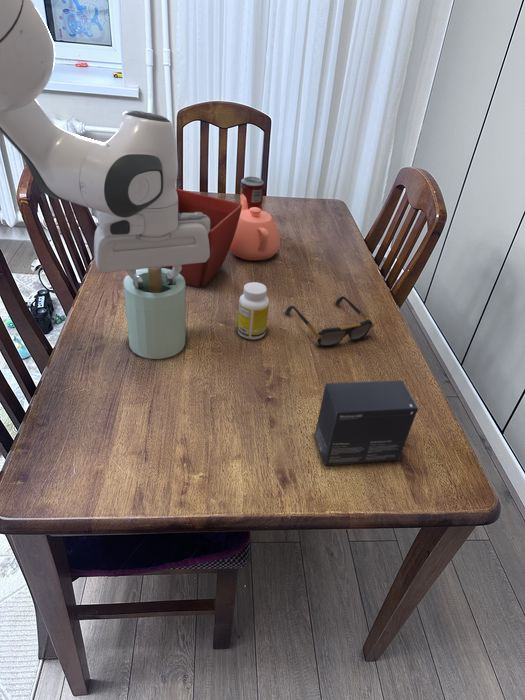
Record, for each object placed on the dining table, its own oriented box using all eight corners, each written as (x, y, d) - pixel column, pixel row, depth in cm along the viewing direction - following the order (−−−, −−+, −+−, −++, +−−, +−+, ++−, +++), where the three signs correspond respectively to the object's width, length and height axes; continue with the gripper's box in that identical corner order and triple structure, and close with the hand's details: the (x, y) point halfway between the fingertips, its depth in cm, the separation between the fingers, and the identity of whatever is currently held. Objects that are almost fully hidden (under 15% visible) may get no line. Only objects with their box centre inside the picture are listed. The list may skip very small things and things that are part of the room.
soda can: (265, 219, 154) (269, 180, 147) (248, 224, 150) (251, 184, 143) (250, 212, 158) (253, 173, 151) (234, 216, 154) (236, 177, 147)
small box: (385, 430, 85) (403, 379, 78) (400, 461, 80) (421, 409, 72) (312, 434, 83) (325, 381, 75) (323, 466, 77) (337, 413, 70)
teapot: (215, 234, 142) (216, 193, 134) (263, 232, 146) (267, 192, 139) (236, 270, 126) (239, 226, 118) (289, 266, 130) (296, 223, 123)
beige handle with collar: (149, 345, 96) (145, 274, 86) (144, 333, 99) (139, 262, 89) (171, 342, 97) (169, 271, 88) (165, 329, 101) (163, 260, 91)
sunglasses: (336, 304, 117) (340, 286, 114) (373, 339, 107) (378, 321, 104) (285, 313, 112) (288, 295, 109) (318, 352, 101) (322, 332, 98)
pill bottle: (266, 325, 107) (272, 282, 100) (264, 342, 102) (269, 297, 96) (239, 322, 107) (242, 278, 101) (235, 338, 102) (238, 293, 96)
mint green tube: (132, 362, 93) (126, 300, 85) (126, 328, 101) (121, 269, 93) (189, 355, 96) (190, 295, 88) (180, 323, 105) (179, 265, 96)
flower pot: (239, 265, 128) (243, 203, 118) (208, 298, 114) (210, 231, 104) (174, 248, 133) (173, 187, 122) (136, 278, 118) (132, 212, 108)
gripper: (205, 204, 88) (203, 271, 97) (87, 211, 81) (96, 283, 90) (216, 218, 84) (213, 287, 92) (92, 227, 77) (101, 301, 85)
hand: (155, 285), depth 91 cm, fingers open, 5 cm apart
